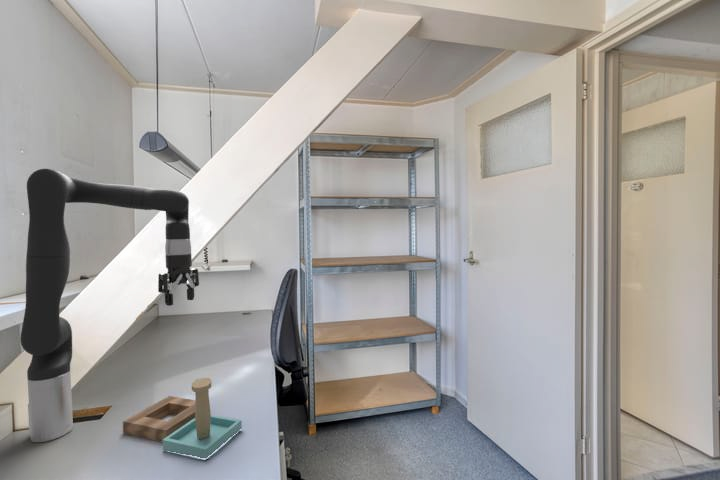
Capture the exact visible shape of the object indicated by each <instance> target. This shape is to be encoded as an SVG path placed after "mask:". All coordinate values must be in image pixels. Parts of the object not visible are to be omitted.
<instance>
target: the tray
mask: <svg viewBox="0 0 720 480" xmlns="http://www.w3.org/2000/svg"><path fill="white" fill-rule="evenodd" d="M242 423H243V422H242V419H238V418H231V417H225V416H221V415H215V414H211V425H210V435H209V436H208V437H207V438H206V439H199V438H197V431H196V424H195V418H194V419H193V420H191V421H190V422H188V423H187V424H185V425H184V426H182V427H181V428H179V429H178V430H176V431H175V432H173V433H172V434H170V435H169V436H167V437H166V438H164V439H163V442H162V451H163V450H164V451H163V452H165V451H170V452H176V453H180V454H186V455H192V456H197V457H200V458H207V457H208V456H209V455H211V454H212V453H213V452H214V451H215V450H216V449H218V448H219V447H220V446H221V445H222V444H223V443H225V442H226V441H227V440H228V439H229V438H230V437H232V436H233V435H234V434H236V433H237V432H238V431H239V430H240V429H242V430H243V424H242Z"/></svg>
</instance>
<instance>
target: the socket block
mask: <svg viewBox="0 0 720 480" xmlns="http://www.w3.org/2000/svg"><path fill="white" fill-rule="evenodd" d="M173 414H176V415H174V416H173V417H171V418H170V419H168V420H164V419H163V418H164V417H166V416H168V415H173ZM194 418H195V399H190V398H185V397H184V398H183V397H178V396H173V395H172V396H171V395H168V396H167V397H164V398H163V399H161V400H159V401H157V402H155V403H154V404H151V405H149V406H148V407H146V408H145V409H143V410H141V411H139V412H137V413H135V414H134V415H132V416H130V417H128V418H126V419H123V420H122V431H123V432H122V433H123V434H124V435H129V436H134V437H138V438H142V439H147V440H151V441H155V440H157V442H160V441H162V442H161V443H163V439H164V438H166V437H167V436H169V435H170V434H172V433H173V432H175V431H176V430H178V429H179V428H181V427H182V426H184V425H185V424H187V423H188V422H190V421H191V420H193V419H194Z"/></svg>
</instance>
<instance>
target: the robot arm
mask: <svg viewBox="0 0 720 480" xmlns="http://www.w3.org/2000/svg"><path fill="white" fill-rule="evenodd" d="M26 193H27V203H28V211H29V212H28V213H29V221H28V223H29V224H28V233H27V245H26V247H27V248H26V259H25V261H26V262H25V308H24V315H23V321H22V327H21V333H20V345H21V347H22V349H23V350H24V351H25V352H26V353H28V354H30V355H31V357H32V358H31V361H30V363H29V366H28V368H27V371H26V375H27V376H26V377H27V394H28V404H27V415H28V416H27V417H28V435H29V437H30V439H29V440H30V441H31V442H32V443H45V442H50V441H52V440H56V439H58V438H62V437H63V436H65V435H66V434H68V433H70V432H71V431H72V429H73V428H74V422H73V419H74V418H73V397H72V378H71V362H72V359H73V332H72V331H73V329H72V326H71V324H70V323H69V321H68V320H67V319H66V318H64V317H61V316H60V308H61V307H60V305H61V299H62V296H63V293H64V290H65V287H66V285H67V281H68V278H69V274H70V265H71V264H70V262H71V249H70V243H69V238H68V237H69V236H68V234H67V230H66V227H65V226H66V225H65V209H66V204H68V203H69V204H72V203H73V204H75V203H81V204H82V203H84V204H85V203H86V204H87V203H88V204H99V205H106V206H113V207H117V208H118V207H119V208H125V209H134V210H142V211H144V210H145V211H152V210H153V211H155V210H156V211H160V212H165V220H166V222H165V223H166V224H165V243H164V244H165V246H164V249H165V251H164V252H165V253H164V254H165V268H166V269H167V272H166V273H164V272H161V273H158V283H157V284H158V285H157V287H158V288H157V289H158V293H161V294H164V304H165V305H166V306H170V307H171V306H173V305H174V293H173V292H174V290H175V289H176V288H177V287H178V286H179V285H184V286H185V287H186V299H187V301H193V300H194V299H195V289H196V287H199V285H200V280H199V270H198V268H191V267H192V266H193V265H192V263H193V262H192V242H191V232H190V224H189V207H190V206H189V205H190V199H189V197H188V196H187V195H186V193H184V192H182V191H179V190H173V189H161V188H160V189H159V188H150V187H145V186H144V187H143V186H138V185H129V184H119V183H118V184H117V183H99V182H92V181H86V180H83V179H80V178H79V179H78V178H74V177H72V176H69V175H66V174H65V173H63V172H60V171H58V170H55V169H53V168H40V169H37V170H34V171H33V172H32V173H31V174H30V175H29V176H28V177H27V181H26Z"/></svg>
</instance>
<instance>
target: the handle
mask: <svg viewBox="0 0 720 480" xmlns="http://www.w3.org/2000/svg"><path fill="white" fill-rule="evenodd" d="M211 388H212V379H211V378H210V377H200V378H197V379H195V380H194V381H192V382H191V391H192V392H193V393H195V399H194V400H195V424H196V431H197V438H199V439H206V438H207V437H208V436H209V435H210V425H211V415H212V412H211V406H210V404H211V403H210V395H209V393H210V392H209V390H210V389H211Z"/></svg>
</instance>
